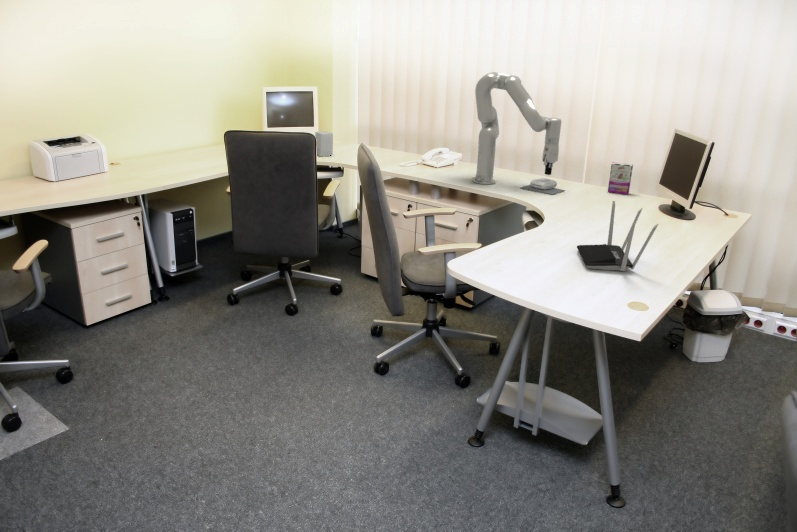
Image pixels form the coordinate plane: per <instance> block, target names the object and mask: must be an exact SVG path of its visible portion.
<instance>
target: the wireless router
mask: <svg viewBox="0 0 797 532" xmlns="http://www.w3.org/2000/svg"><path fill="white" fill-rule="evenodd" d="M642 210H643V207H641V208H640V209H639V210H638V211H637V213H636V215H635V217H634V220H633V222H632V224H631V226H630V228H629V231H628V233H627V235H626V237H625V239H624V242H623V244H622V246H620V245H617V244H612V243H613V233H614V224H615V213H616V212H615V211H616V201H615V200H613V201H612V204H611V212H610V213H611V214H610V220H609V221H610V222H609V229H608V237H607V244H606V243H603V244H579V245H577V246H576V249H577V251H578V253H579V254H580V257H581V258H582V261H583V262H584V264H585V266H586V267H587V268H588V269H589V270H591V269H592V270H593V269H594V270H604V271H605V270H606V271H607V270H608V271H619V272H620V271H621V272H627V271H628V269H631V270H634V269H635V267H636V265H637V263H638V262H639V260H640V257H641V256H642V254H643V253H644V251H645V249H646V247H647V245H648V244H649V242H650V240H651V239H652V237H653V235H654V233H655V231H656V230H657V227H658V226H659V223H657V224H655V225H654V226H653V227H652V228H651V231H650V232H649V234H648V236H647V238H646V240H645V241H644V243H643V244H642V246H641V248H640V250H639V252H638V254H637V255H636V257H635V259H634V260H633V262H632V261H631V260H630V259H629V255H630V250H631V245H632V240H633V237H634V231H635V228H636V227H635V226H636V224H637V221H638V220H639V217H640V215H641V213H642Z"/></svg>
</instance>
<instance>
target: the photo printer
mask: <svg viewBox="0 0 797 532" xmlns="http://www.w3.org/2000/svg"><path fill="white" fill-rule="evenodd" d="M529 185H531V186H532V187H534V188H537V189H542V190H546V189H551V188H556V187H557V185H558V182H557V181H556V180H555V179H550V178H546V177H542V178H535V179H532V180H531V181H530V184H529Z"/></svg>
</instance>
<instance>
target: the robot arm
mask: <svg viewBox="0 0 797 532" xmlns="http://www.w3.org/2000/svg"><path fill="white" fill-rule="evenodd" d="M493 89H497V90H503V91H505V92H507V94H508V95H509V97H510V99H512V101H513V102H514V104H515V105H516V106H517V108H518V109H519V110H518V111H519V112H520V113H521V114H522V116H523V119H524V120H525V121H526V123H527V124H528V125H529V126H530V129H532V131H534V132H535V133H541V132H542V131H545V134H544V135H545V137H544V148H543V152H542V158H541V159H542V162H543V165H544V174H545V175H547V176H551V175H552V170H553V165H554V164H555V162H558V161H559V151H560V150H559V149H560V148H559V147H560V145H559V143H560V135H561V128H562V120H561V118H558V117H547V116H542V115H541V114H540V113H539V112H538V110H537V108H536V106H535V104H534V101H533V98H532V97H531V95H530V94H529V92H528V91H527V89H526V88H525V87H524V85H523V84H522V80H521V78H520V77H519V76H518V75H512V74H506V73H501V72H495V71H494V72H493V71H491V72H489V73H486V74H485V75H483V76H482V77H481V78H480V79H479V80H478V81H477V83H476V85H475V91H474V93H475V102H476V103H475V104H476V110H477V111H476V113H477V120H478V121H479V122H480V123H481V129H480V131H479V133H478V146H477V147H478V150H477V164H476V173H475V176H473V177H472V178H471V180H472V181H473V183H475V184H479V185H493V184H495V183H496V180H495V179H494V168H495V158H496V146H497V145H496V142H497V139H498V137H499V135H500V127H499V119H498V112H497V109H496V108H495V107H494V105H493V100H492V94H491V92H492V90H493Z"/></svg>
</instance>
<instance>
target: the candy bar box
mask: <svg viewBox="0 0 797 532" xmlns="http://www.w3.org/2000/svg"><path fill="white" fill-rule="evenodd" d="M633 168H634V164H633V163H626V162H625V163H624V162H615V161H613V162H612V163H611V166H610V171H609V172H610V174H609V181H608V186H607V193H608V192H609V193H610V194H617V195H618V194H619V195H627V196H628V195H629V193H630V189H631V181H632V175H633V174H632V173H633Z"/></svg>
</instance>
